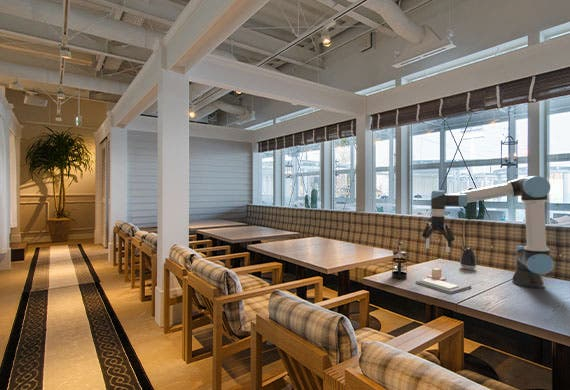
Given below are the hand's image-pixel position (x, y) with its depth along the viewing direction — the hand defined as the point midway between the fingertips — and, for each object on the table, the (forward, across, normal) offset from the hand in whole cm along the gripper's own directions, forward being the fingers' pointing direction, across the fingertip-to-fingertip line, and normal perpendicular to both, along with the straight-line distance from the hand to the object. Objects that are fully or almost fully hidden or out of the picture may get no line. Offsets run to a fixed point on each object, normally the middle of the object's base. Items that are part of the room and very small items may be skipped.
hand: (437, 250), depth 198 cm
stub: (+17, 0, 0) cm, 17 cm away
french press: (+19, -17, -14) cm, 29 cm away
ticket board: (+19, +7, -5) cm, 21 cm away
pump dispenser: (+20, -7, +46) cm, 50 cm away
